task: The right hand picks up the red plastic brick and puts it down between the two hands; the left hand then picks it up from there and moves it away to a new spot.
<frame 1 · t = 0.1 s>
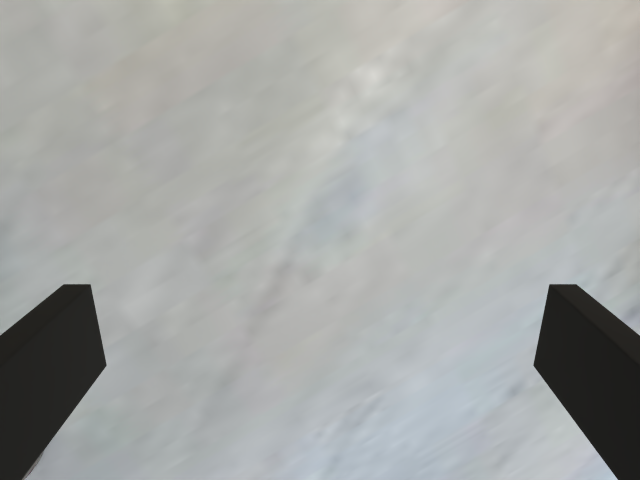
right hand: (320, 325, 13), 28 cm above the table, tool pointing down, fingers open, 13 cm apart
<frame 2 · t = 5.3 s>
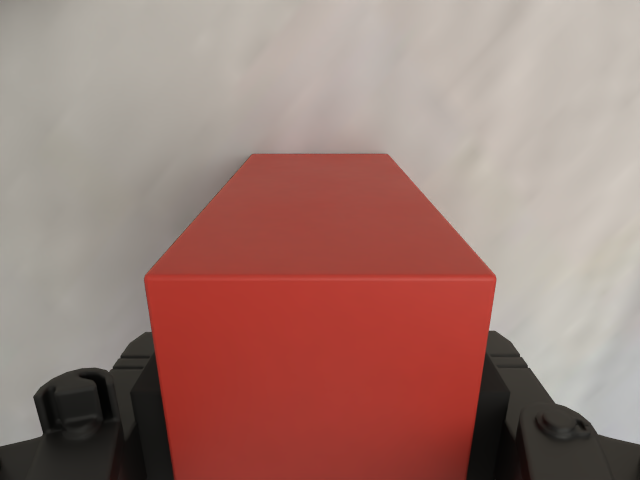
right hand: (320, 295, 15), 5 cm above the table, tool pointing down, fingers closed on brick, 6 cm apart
brick: (320, 244, 19), on the table, touching right hand
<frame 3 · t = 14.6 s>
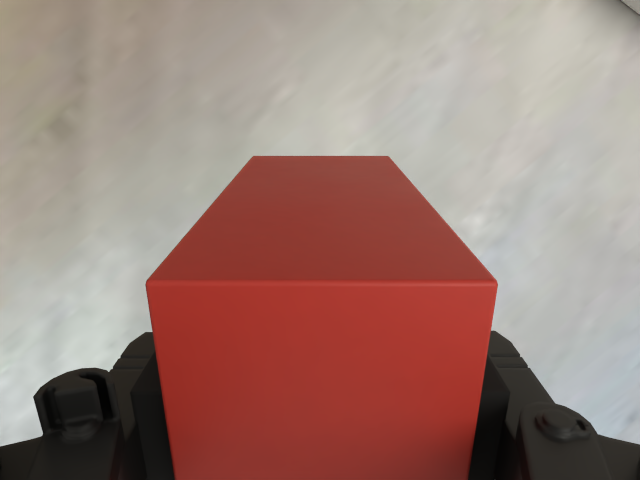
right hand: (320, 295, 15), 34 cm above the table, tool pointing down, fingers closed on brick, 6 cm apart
brick: (320, 246, 19), point 29 cm above the table, touching right hand
when the right hand's fingers open (6 cm above the table, at t = 24.1 s): brick drops 2 cm, on the table.
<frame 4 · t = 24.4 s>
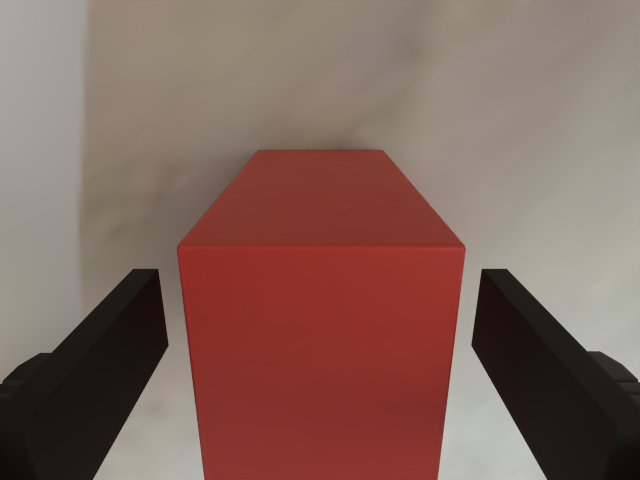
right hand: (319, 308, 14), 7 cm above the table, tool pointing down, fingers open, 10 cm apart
brick: (320, 234, 21), on the table
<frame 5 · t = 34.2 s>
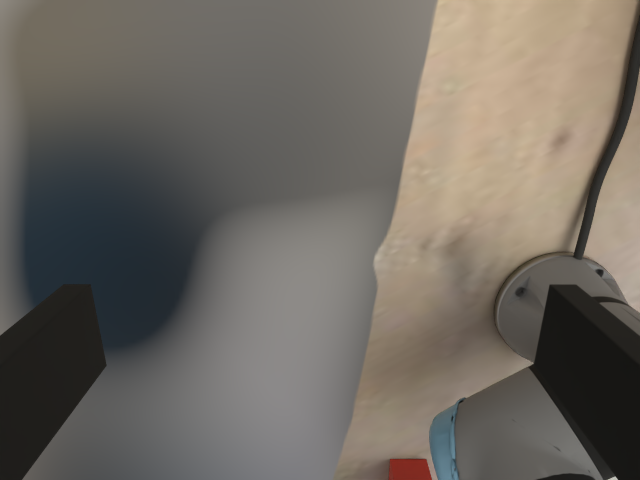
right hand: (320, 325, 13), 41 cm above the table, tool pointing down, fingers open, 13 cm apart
brick: (406, 478, 69), on the table, touching left hand
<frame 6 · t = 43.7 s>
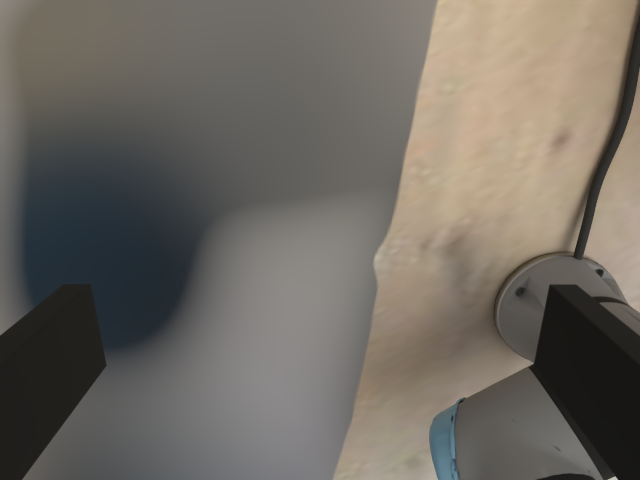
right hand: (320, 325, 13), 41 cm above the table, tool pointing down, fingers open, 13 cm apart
when the left hand's fingers open (6 cm above the table, at t = 53.5 s): brick drops 2 cm, on the table.
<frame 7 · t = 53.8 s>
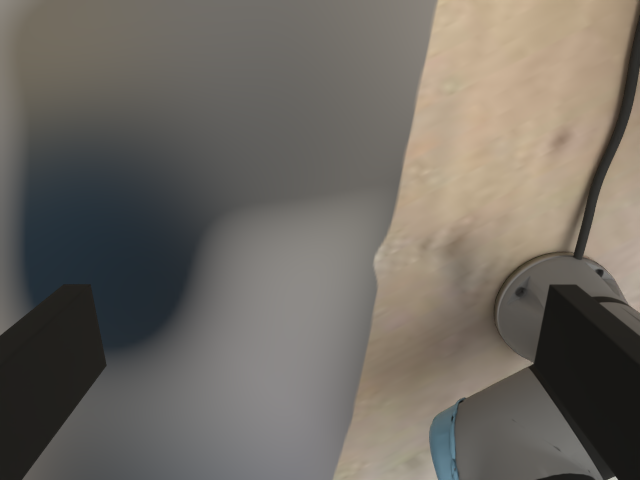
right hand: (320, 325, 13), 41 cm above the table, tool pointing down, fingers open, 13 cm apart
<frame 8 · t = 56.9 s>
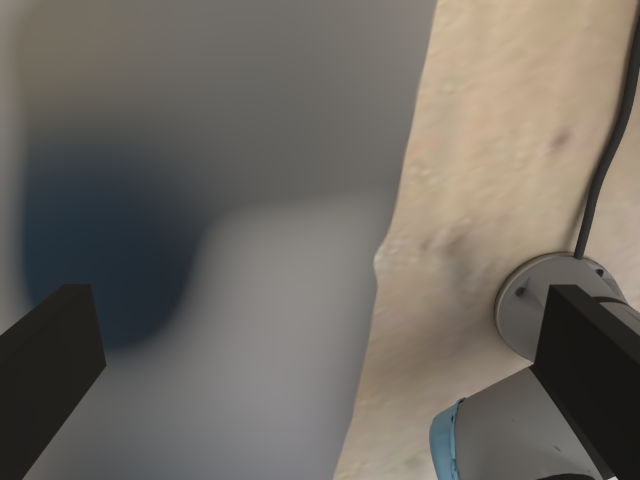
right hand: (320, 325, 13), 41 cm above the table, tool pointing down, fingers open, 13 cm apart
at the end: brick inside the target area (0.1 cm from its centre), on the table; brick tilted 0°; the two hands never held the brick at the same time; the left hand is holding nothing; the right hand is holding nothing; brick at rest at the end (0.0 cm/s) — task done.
